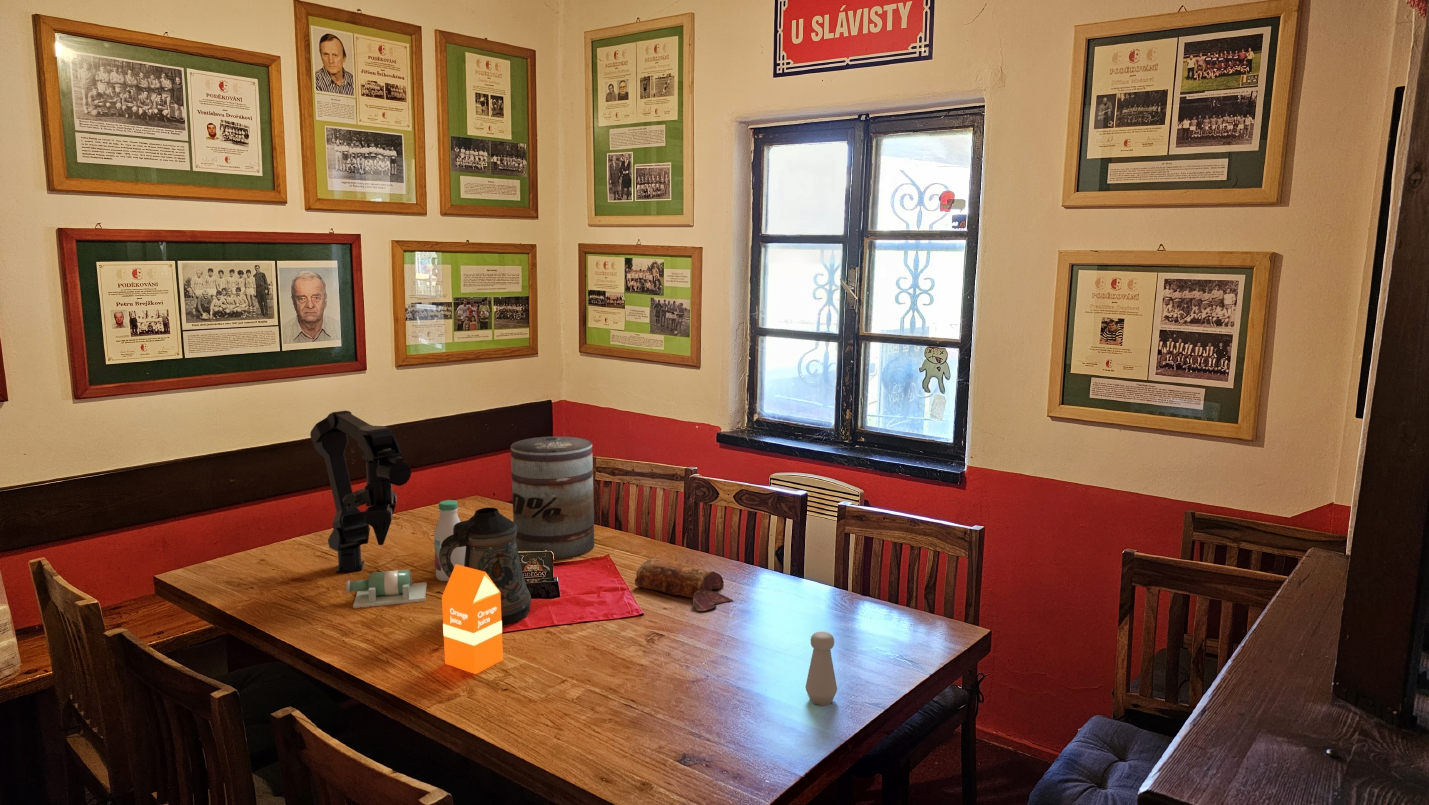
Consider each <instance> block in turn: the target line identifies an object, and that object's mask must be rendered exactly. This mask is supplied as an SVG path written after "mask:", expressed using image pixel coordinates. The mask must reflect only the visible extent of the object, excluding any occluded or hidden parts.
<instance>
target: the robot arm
mask: <svg viewBox="0 0 1429 805" xmlns="http://www.w3.org/2000/svg"><path fill="white" fill-rule="evenodd" d="M309 436H310V439H311V442H312V443H313V446H314V448H315V451H316V452H317V453H318V454H319V455H320V456H321V457H323V459H324V463H325V467H326V471H327V476H328V481H329V484H330V489H331V493H332V498H333V501H334V505H335V511H336V512H335V515H334V518H333V521H332V528H333V530H332V532H331V533H330V535H329V537H328V539H327V543H328V546H329V548H330V549H332V550H335V551H336V552H337V565H336V569H335V573H348V572H359V571H363V568H364V566H365V561H364V560H363V561H362V550H361V546H362V545H367V544H369V539H370V538H369V537H370V531H371V528H372V529H373V532H374V535H375V538H376V542H377V545H378V546H383V545H384V544H385V541H386V539H387V538H386V537H387V534H388V532H389V529H390V526H391V524H392V521H393V514H394V513H395V512H394V511H395V509H396V507H397V506H396V505H397V501H398V498H397V493H396V492H395V491H394V490H393V485H394V486H397V487H398V486H399V487H400V486H403V485H405V484H407V483H408V482H409V480H410V479H411V476H412V470H411V468H410V465H409V464H407V463H406V462H404V460H403V457H401V456H402V455H403V454H402V447H401V445H400V444H399V442H398V440H397V439H396V436H395V434H394V432H393V431H392V429H391V428H390V427H387V426H384V425H374V424H373V425H372V424H370V423H367V422H366V421H364V420H362V419H361V418H359V417H357V416H356V415H353V414H352V412H351V411H350V410H339V411H332V412H330V413H329V414H328V415H327V416H326V417H325V418H323V419H322V420H320V421H319V422H316V423H315V425H314V426H313V428H312V429H311V430H310V434H309ZM348 436H349V437H351V438H353V439H354V440H356V441H357V445H358V446H357V447H358V448H360V450H362V452H363V453H364V454H363V455H362V457H361V458H362V459H363V460H365V469H366V471H365V472H366V483H365V484H366V485H365V486H364V487H363V488H361V489H358V490H355V491H353V487H352V484H351V483H352V482H351V479H350V474H349V471H348V467H347V461H346V458H345V451H346V450H347V449H346V448H347V447H348V443H349V440H348ZM363 505H365V507H367V508H366V509H365V510H364V511H361V510H360V509H359V507H360V506H361V507H362V506H363ZM370 527H371V528H370Z"/></svg>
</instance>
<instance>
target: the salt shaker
mask: <svg viewBox="0 0 1429 805" xmlns="http://www.w3.org/2000/svg"><path fill="white" fill-rule="evenodd" d="M810 646H811V647H812V648H813V649H812V653H811V659H810V665H809V668H808V673H807V678H806V683H805V691H806V693H807V696H808V699H809V700H810V701H811V703H812V704H813V705H818V706H822V707H824V706H827V705H830V704H832V702H833V700H834V698H835V696H836V694H837V691H838V687H837V686H838V685H837V680H836V674H835V669H834V668H835V667H834V664H833V656H832V651H831V650H832V649H833V648H834V646H835V637H834V636H833V635H832V634H831V633H829V632H826V631H816V632H813V633H812V635H811V637H810Z"/></svg>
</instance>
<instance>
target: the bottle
mask: <svg viewBox="0 0 1429 805" xmlns="http://www.w3.org/2000/svg"><path fill="white" fill-rule="evenodd" d="M410 572H411V571H410V569H399V570H388V571H387V570H386V571H377V572H369V574H368V579H358V580H357V579H356V580H346V581H345V591H346V593H347V594H348V593H353V592H355V593H357V592H358V591H368V590H369V588H374V587H375V590H376V596H382V595H395V594H403V588H402V587H403V585H407V584H409V592H410Z"/></svg>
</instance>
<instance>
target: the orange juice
mask: <svg viewBox="0 0 1429 805" xmlns="http://www.w3.org/2000/svg"><path fill="white" fill-rule="evenodd" d="M500 593H501V592H500V591H499V590H498V588H497V587H496V586H495V584H494V583H493V582H492V580H491V579H490V578H489V576H488V575H487V574H486V572H483V571H480V570H476V569H472V568H468V567H464V566H460V565H457V564H455V567H454V570H453V572H452V574H451V577H450V579H449V581H447V583H446V586H445V589H444V590H443V594H442V595H441V604H442V607H441V609H442V622H443V623H442V631H443V633H442V634H443V644H444V646H443V649H444V662H445V665H449V666H451V667H454V668H456V669H459V670H463V671H465V672H468V673H471V674H474V675H477V674H478V673H481V672H483V671H484V670H487V669H488V668H490V667H492V666H495V665H496V664H497V663H500V662H502V661H503V660H504V655H503V654H504V653H503V648H504V647H503V626H502V620H501V597H500Z"/></svg>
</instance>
